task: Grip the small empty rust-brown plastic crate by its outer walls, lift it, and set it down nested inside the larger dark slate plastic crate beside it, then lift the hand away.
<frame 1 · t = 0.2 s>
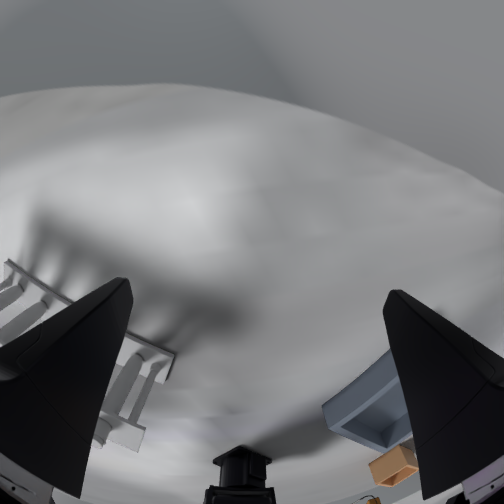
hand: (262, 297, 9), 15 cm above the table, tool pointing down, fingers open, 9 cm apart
test tube rack: (75, 319, 27), on the table
small crate: (391, 457, 34), on the table
large crate: (392, 391, 29), on the table
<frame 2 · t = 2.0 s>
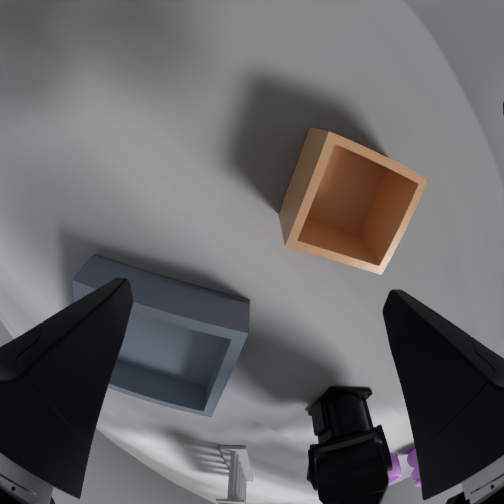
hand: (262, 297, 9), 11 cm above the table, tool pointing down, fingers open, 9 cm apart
container set: (386, 459, 48), on the table
test tube rack: (239, 464, 44), on the table
small crate: (337, 186, 18), on the table
large crate: (159, 334, 25), on the table
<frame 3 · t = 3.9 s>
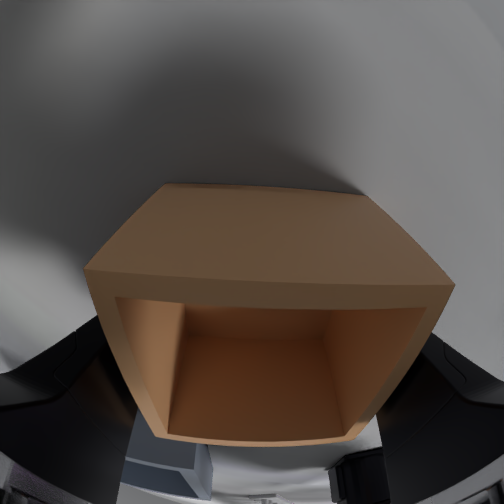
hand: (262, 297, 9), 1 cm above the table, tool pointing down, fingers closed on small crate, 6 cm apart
test tube rack: (278, 501, 37), on the table
small crate: (261, 275, 10), on the table, touching gripper
large crate: (130, 436, 18), on the table
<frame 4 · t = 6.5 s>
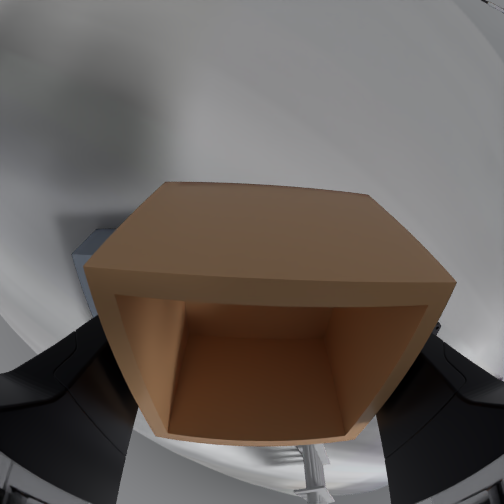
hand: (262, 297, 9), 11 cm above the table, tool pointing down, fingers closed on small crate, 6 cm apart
test tube rack: (313, 448, 41), on the table
small crate: (262, 274, 10), point 10 cm above the table, touching gripper
large crate: (187, 305, 23), on the table
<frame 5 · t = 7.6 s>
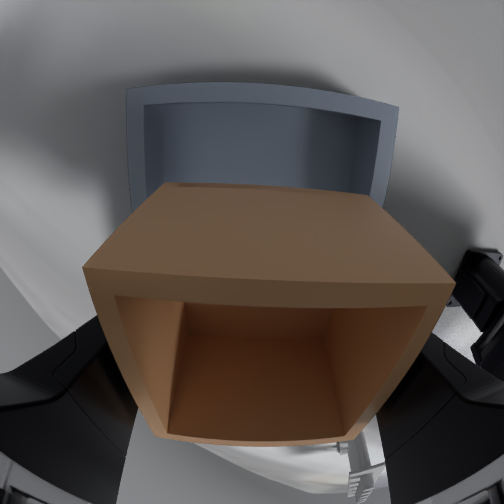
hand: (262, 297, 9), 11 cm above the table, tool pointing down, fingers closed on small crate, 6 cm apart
test tube rack: (350, 428, 37), on the table
small crate: (261, 275, 10), point 9 cm above the table, touching gripper
large crate: (256, 195, 18), on the table
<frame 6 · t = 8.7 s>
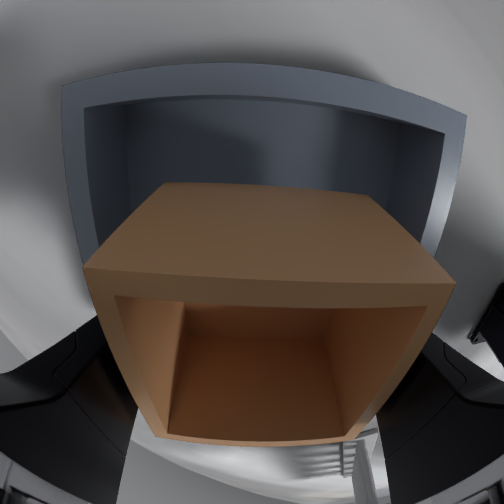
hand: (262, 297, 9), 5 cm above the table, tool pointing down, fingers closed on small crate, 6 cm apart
test tube rack: (356, 456, 32), on the table
small crate: (261, 275, 10), point 4 cm above the table, touching gripper
large crate: (257, 230, 13), on the table
when the fingers open (3 cm above the table, at t = 9.7 s): small crate drops 2 cm, resting on large crate.
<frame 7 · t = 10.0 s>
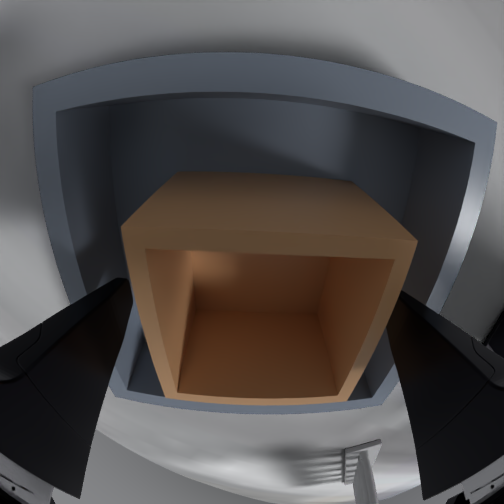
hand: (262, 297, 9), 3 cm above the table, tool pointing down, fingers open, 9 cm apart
test tube rack: (358, 464, 31), on the table
small crate: (261, 252, 11), point 1 cm above the table, touching large crate
large crate: (259, 246, 12), on the table
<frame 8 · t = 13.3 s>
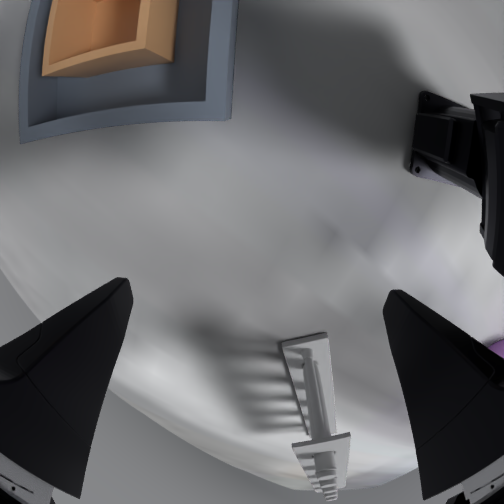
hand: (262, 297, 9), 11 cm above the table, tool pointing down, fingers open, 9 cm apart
container set: (499, 354, 31), on the table
test tube rack: (316, 397, 31), on the table
small crate: (130, 26, 12), point 1 cm above the table, touching large crate
large crate: (133, 29, 12), on the table
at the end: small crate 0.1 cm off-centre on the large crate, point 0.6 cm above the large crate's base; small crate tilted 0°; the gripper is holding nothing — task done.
